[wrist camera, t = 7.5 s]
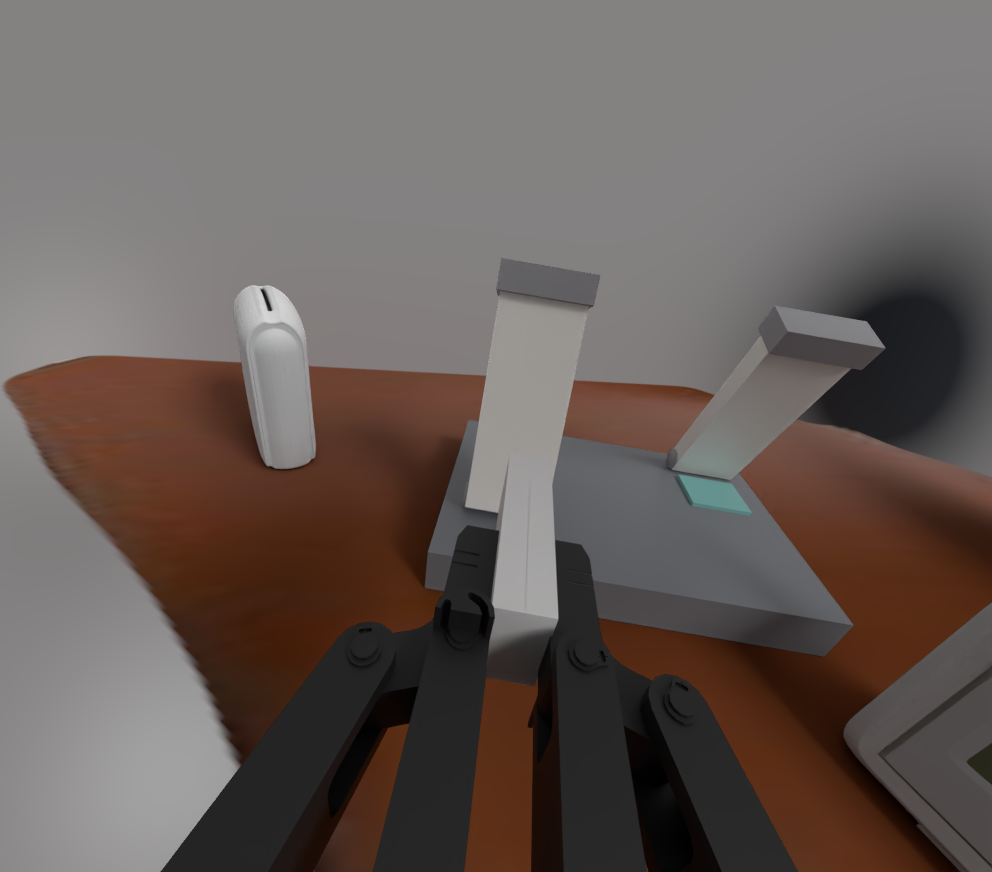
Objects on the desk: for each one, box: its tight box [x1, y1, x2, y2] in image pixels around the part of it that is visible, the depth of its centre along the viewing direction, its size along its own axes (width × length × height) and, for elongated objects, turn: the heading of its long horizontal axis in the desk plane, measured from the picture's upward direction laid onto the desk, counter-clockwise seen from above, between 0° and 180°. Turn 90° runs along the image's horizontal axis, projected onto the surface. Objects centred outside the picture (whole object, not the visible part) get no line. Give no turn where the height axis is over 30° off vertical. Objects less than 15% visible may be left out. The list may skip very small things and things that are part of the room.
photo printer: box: [233, 285, 316, 469], centre depth 32 cm, size 10×4×12 cm, turn 31°
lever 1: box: [462, 258, 600, 513], centre depth 24 cm, size 2×5×15 cm, turn 84°
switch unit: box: [425, 420, 854, 657], centre depth 30 cm, size 16×24×3 cm, turn 85°
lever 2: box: [666, 306, 885, 480], centre depth 29 cm, size 2×5×15 cm, turn 86°
